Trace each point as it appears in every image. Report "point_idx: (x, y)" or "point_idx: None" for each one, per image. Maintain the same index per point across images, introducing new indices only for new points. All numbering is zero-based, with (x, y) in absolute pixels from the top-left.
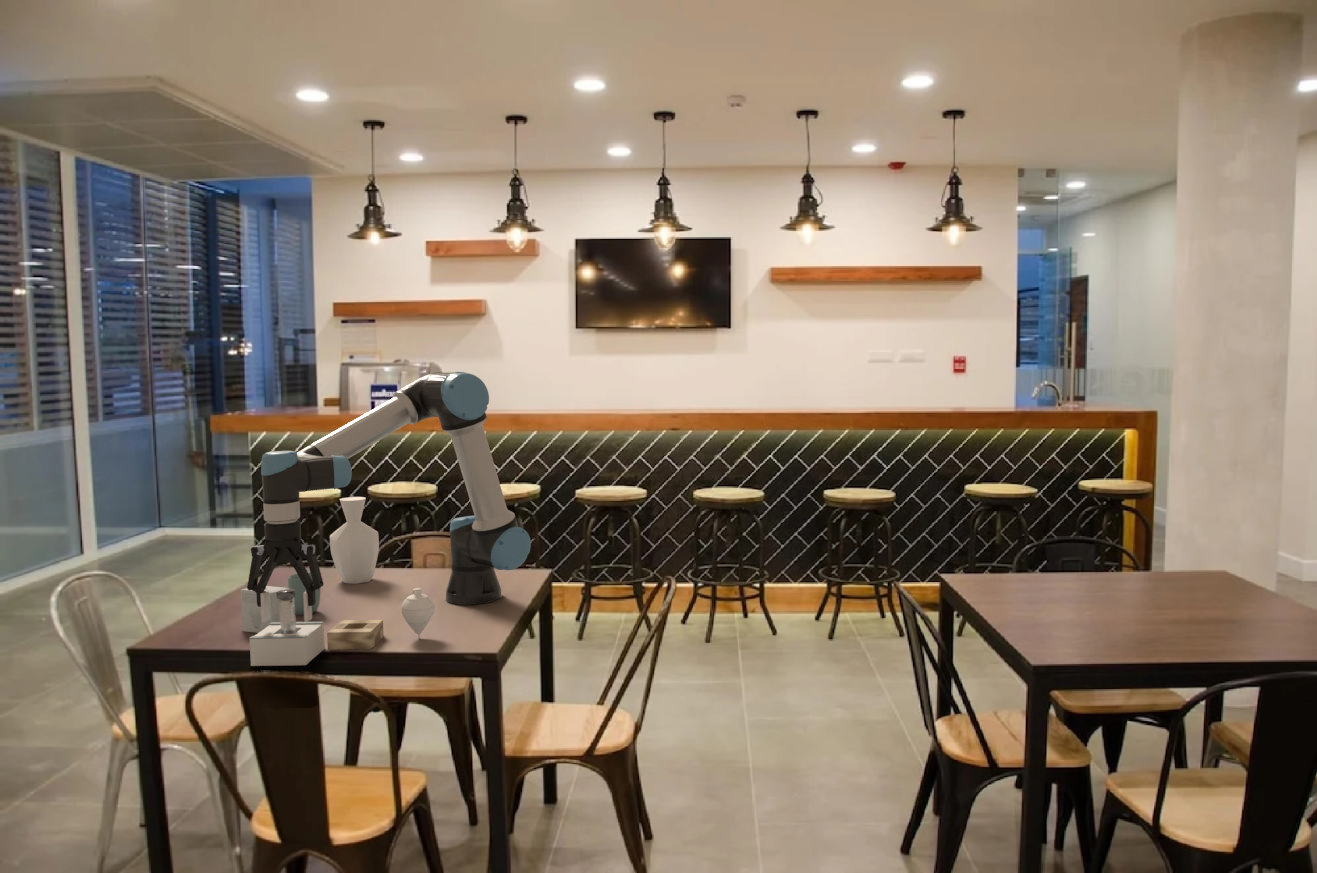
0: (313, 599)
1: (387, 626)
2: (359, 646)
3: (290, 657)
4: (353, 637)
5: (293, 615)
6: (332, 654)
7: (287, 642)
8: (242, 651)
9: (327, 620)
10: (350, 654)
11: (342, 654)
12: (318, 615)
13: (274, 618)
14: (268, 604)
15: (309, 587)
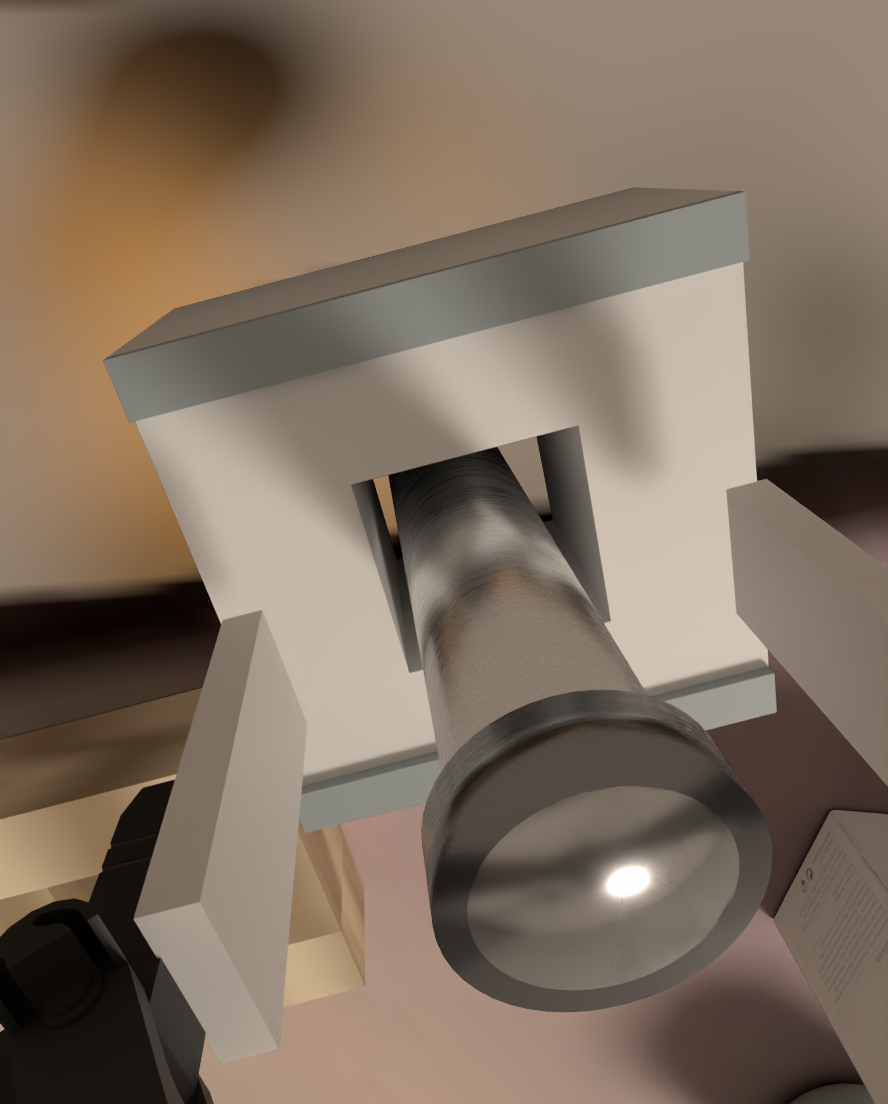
0: (111, 875)
1: (219, 1072)
2: (45, 738)
3: (293, 283)
4: (62, 775)
5: (421, 644)
6: (159, 587)
7: (305, 297)
8: (879, 499)
9: (637, 1060)
10: (21, 616)
11: (82, 603)
12: (733, 1100)
13: (881, 911)
14: (830, 696)
15: (43, 1048)
